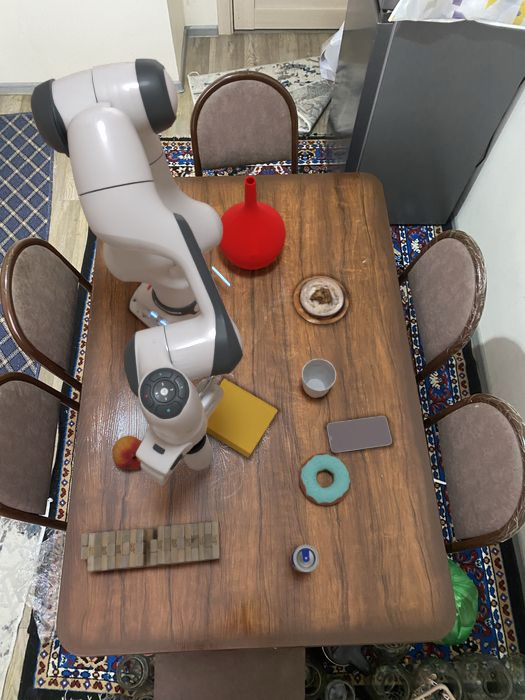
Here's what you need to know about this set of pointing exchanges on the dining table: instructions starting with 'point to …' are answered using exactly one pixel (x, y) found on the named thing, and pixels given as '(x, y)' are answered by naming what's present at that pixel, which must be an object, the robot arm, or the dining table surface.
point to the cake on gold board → (320, 300)
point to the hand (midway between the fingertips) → (190, 440)
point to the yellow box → (239, 419)
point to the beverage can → (304, 558)
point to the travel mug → (199, 455)
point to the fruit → (126, 452)
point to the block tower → (151, 546)
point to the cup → (318, 377)
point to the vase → (252, 231)
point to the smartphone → (358, 434)
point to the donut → (311, 485)
